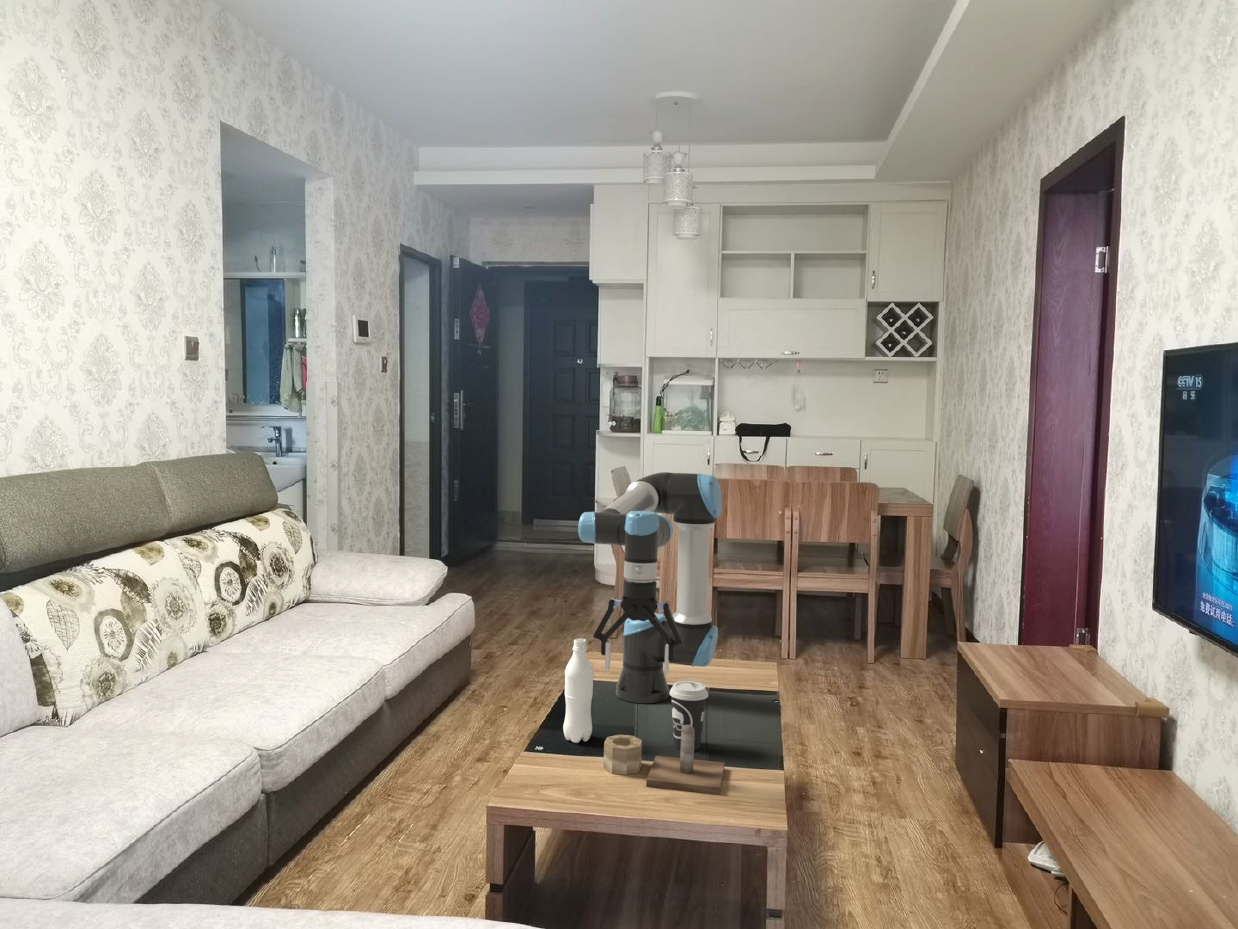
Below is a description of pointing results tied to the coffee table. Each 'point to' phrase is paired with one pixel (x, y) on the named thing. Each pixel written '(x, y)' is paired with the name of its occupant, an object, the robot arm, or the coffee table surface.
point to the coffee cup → (688, 709)
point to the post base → (686, 781)
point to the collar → (622, 754)
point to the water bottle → (578, 694)
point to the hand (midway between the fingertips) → (636, 671)
